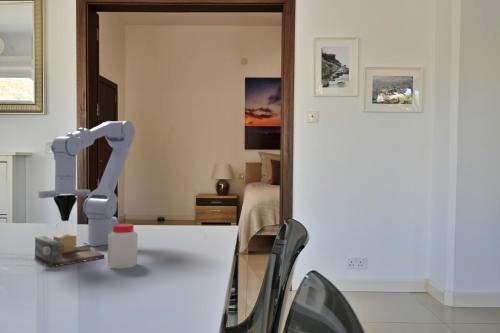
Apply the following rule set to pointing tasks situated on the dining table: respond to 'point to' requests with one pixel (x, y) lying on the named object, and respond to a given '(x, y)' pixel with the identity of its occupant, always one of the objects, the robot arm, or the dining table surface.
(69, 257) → the rail bed
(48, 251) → the gauge plunger
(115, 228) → the pill bottle
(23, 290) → the dining table surface
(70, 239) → the carriage
